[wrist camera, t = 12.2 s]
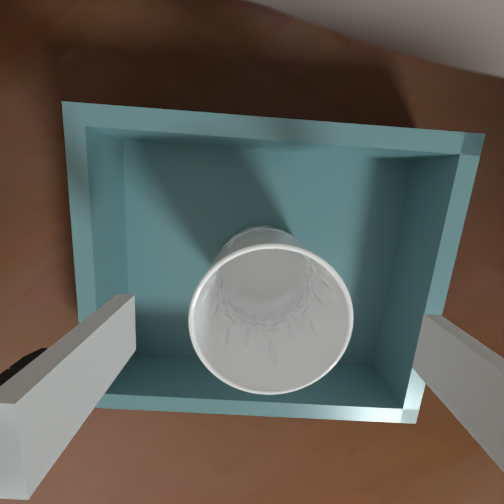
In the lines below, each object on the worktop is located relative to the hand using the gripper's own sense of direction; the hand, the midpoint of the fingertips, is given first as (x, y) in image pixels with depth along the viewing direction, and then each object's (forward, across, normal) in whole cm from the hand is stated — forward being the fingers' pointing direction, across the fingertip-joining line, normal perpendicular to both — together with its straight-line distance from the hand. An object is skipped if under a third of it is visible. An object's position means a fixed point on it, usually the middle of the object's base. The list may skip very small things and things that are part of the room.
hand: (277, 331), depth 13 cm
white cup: (+11, 0, 0) cm, 11 cm away
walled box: (+12, 0, 0) cm, 12 cm away
